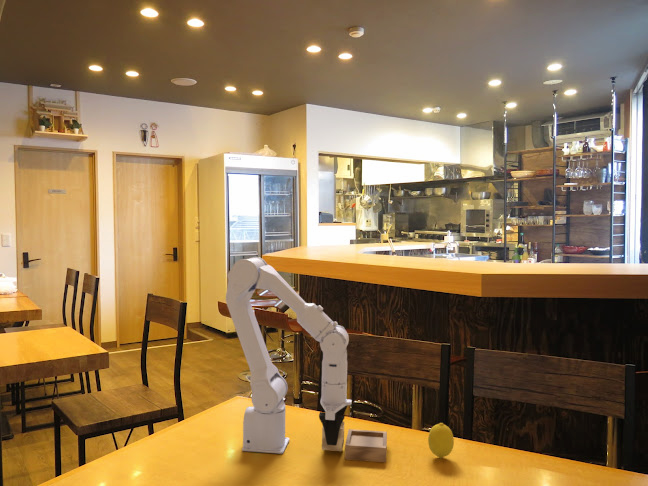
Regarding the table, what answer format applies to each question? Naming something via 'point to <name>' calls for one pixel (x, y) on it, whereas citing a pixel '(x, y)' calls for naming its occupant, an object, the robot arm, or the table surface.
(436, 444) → the lemon
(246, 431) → the robot arm
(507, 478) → the table surface
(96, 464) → the table surface
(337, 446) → the block
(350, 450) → the tray
